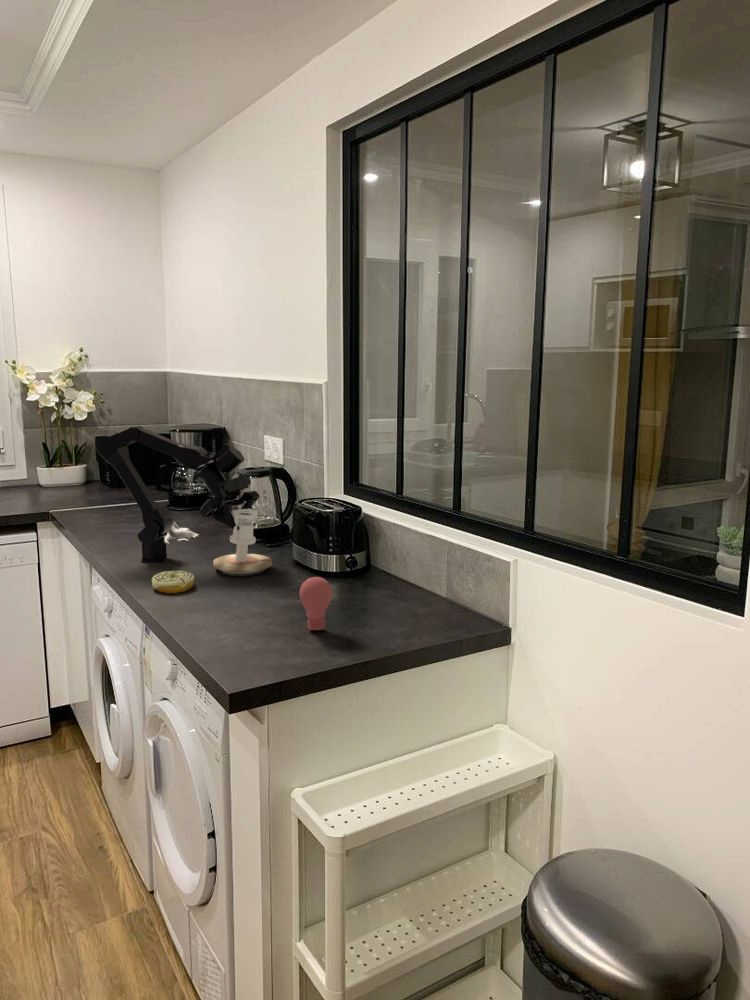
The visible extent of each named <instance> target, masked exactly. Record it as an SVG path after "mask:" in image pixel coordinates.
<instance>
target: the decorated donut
mask: <svg viewBox="0 0 750 1000" xmlns="http://www.w3.org/2000/svg"><path fill="white" fill-rule="evenodd" d="M194 583H195V576H194V574H193V573H190V572H189V571H184V570H167V571H166V570H165V571H162V572H158V573H156V574H155V575H153V576H152V578H151V585H152V588H153V589H155V590H156V591H158V592H159V591H160V592H159V593H162V592H165V593H164V594H169V593H174V594H179V593H178V592H180V593H183V592H187V591H189V590H190V589H191V588H193V586H194ZM186 590H187V591H186Z"/></svg>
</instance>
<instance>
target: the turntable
mask: <svg viewBox="0 0 750 1000" xmlns="http://www.w3.org/2000/svg"><path fill="white" fill-rule="evenodd" d="M212 563H213V564H212V565H213V568H215V569H217V570H219V571H221V570H222V571H227V572H254V571H260V570H264V571H265V570H267V569H268V568H270V567H271V566H272V564H273V563H272V559H271V558H270V557H269V556H267V555H262V554H258V553H257V554H256V553H247V561H246V562H238V561H236V553H233V554H232V553H231V554H227V555H222V556H219V557H217V558H215V559H214V560H213V562H212Z"/></svg>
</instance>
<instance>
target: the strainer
mask: <svg viewBox="0 0 750 1000" xmlns="http://www.w3.org/2000/svg"><path fill="white" fill-rule="evenodd" d="M240 513H243V514H250V515H241V514H240ZM231 514H232V516H233V517H234V521H235V524H236V526H235V527H234V529H233V528H232V529H233V530H232V535H230V536H229V542H230V543H232V544H234V545H236V552H235V554H236V561H238V562H246V561H247V554H248V550H249V548H248V547H249V545H254V544H256V542H257V541H256V536H254V527H255V526H254V523H256V519H257V518H258V515H259V514H258V512H257V510H255V509H252V510H251V509H239V508H237V509H233V510H231ZM245 519H246V520H245ZM237 526H239V528H240V529H239V530H238V531H237Z"/></svg>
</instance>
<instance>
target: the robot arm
mask: <svg viewBox="0 0 750 1000" xmlns="http://www.w3.org/2000/svg"><path fill="white" fill-rule="evenodd" d="M136 442H137V443H138V444H141V445H143V446H146V447H149V448H151V449H153V450H155V451H159V452H161V453H163V454H165V455H168V456H171V457H172V458H173V459H175V460H176V462H177V463H179V464H181V465H182V466H184V467H185V468H187V469H188V470H196V469H199V468H201V469H200V470H199V471H194V475H193V478H192V482H197V483H201V482H203V484H204V486H205V487H206V489H208V491H209V492H208V494H207V496H208V497H209V498H208V499H207V500H206V501H205V502H204V503H203V505H202V506H201V507H200V509H199V513H200V515H201V517H202V519H204V520H206V519H209V518H211V520H216V521H218V522H219V523H221V524H224V525H226V526H228V527H229V528H230V529H234V527H235V526H236V524H235V521H234V517H233V516H232V514H231V513H232V511H231V509H230V508H233V507H236V508H237V509H251V510H253V506H254V504H255V503H256V502H257V501H258V500H259V499H260V498H261V496H260V495H259V493H258V492H257V490H248V491H244V492H243V493H242V492H241V491H243V490H245V489H249V488H250V485H251V484H252V481H251V478H250V476H248V474H241V475H239V476H238V477H235V478H233V479H227V478H226V477H225V476H224V474H229V475H230V474H231V473H233V472H234V471H235V470H236V469H237V468H238V467H239V466H240V465H241V464H243V463H244V462H245V457H244V455H243V454H242V452H241V451H240V450H238V449H237V448H236V447H234V446H233V445H232V444H230V443H229V442H227V443H225V444H224V445H223V446H222V448H221V449H220V450H218V452H216V453H214V452H211V451H210V452H209V451H207V449H206V448H204V447H201V446H199V445H198V446H197V445H193V444H187V443H182V442H177V440H173V439H170V438H168V437H166V436H163V435H161V434H159V433H156V432H153V431H151V430H150V429H147V428H144V427H143V426H141V425H134V426H129V428H126V429H125V430H122V431H119V432H118V433H111V434H106V435H103V436H100V437H99V438H98V439H97V440H96V444H95V449H96V451H97V453H98V454H99V455H100V456H101V457H102V458H103V460H104V461H105V462H106V463H108V464H109V465H111V466H112V467H113V468H114V469H115V470H116V472H117V474H118V475H119V477H120V478H121V480H122V482H123V483H124V486H125V487H126V488H127V490H128V492H129V493H130V495H131V497H132V498H133V499H134V502H135V503H136V504H137V506H138V508H139V510H140V511H141V512H140V513H141V521H142V523H143V525H144V527H143V528H142V530H140V532H138V533H137V537H138V540H139V542H141V559H140V561H141V563H144V562H145V563H151V562H152V563H153V562H158V563H159V562H165V561H166V559H167V558H168V544H167V542H165V537H164V536H167V533H168V531H169V530H170V529H171V528H172V526H173V521H174V519H173V517H174V514H172V513H171V512H170V510H169V508H168V506H167V504H166V503H165V504H163V505H160V504H159V503H158V502H156V501H155V498H154V497H153V496H152V494H151V492H150V491H149V489H148V487H147V485H146V484H145V482H144V481H143V479H142V477H141V476H140V474H139V473H138V471H137V469H136V467H135V466H134V464H133V463H132V461H131V459H130V452H129V448H128V446H130V445H131V444H132V445H133V443H136ZM208 464H209V465H208ZM241 494H242V495H241ZM240 495H241V496H240ZM238 496H240V497H238ZM240 514H241V515H250V514H243V513H240ZM245 520H246V519H245ZM256 525H257V524H256V522H255V523H254V527H256ZM239 529H240V528H239V526H237V531H238V530H239Z"/></svg>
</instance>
